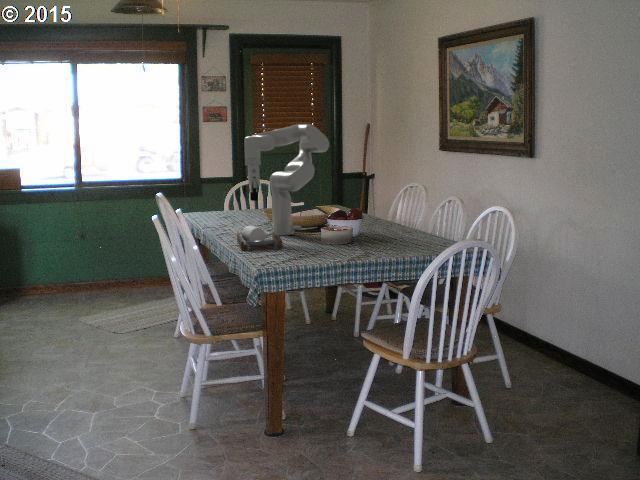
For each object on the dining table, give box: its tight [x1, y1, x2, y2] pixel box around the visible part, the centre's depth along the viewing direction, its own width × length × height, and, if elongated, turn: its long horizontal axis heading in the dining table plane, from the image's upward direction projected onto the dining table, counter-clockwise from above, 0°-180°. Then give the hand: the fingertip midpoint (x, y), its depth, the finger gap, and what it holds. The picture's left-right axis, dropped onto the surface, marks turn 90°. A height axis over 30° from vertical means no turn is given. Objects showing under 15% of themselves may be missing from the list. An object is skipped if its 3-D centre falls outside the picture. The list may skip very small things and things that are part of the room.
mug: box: [241, 224, 271, 243], centre depth 365 cm, size 12×10×8 cm
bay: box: [236, 230, 283, 252], centre depth 358 cm, size 18×30×4 cm, turn 10°
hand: (254, 199), depth 374 cm, fingers open, 2 cm apart
